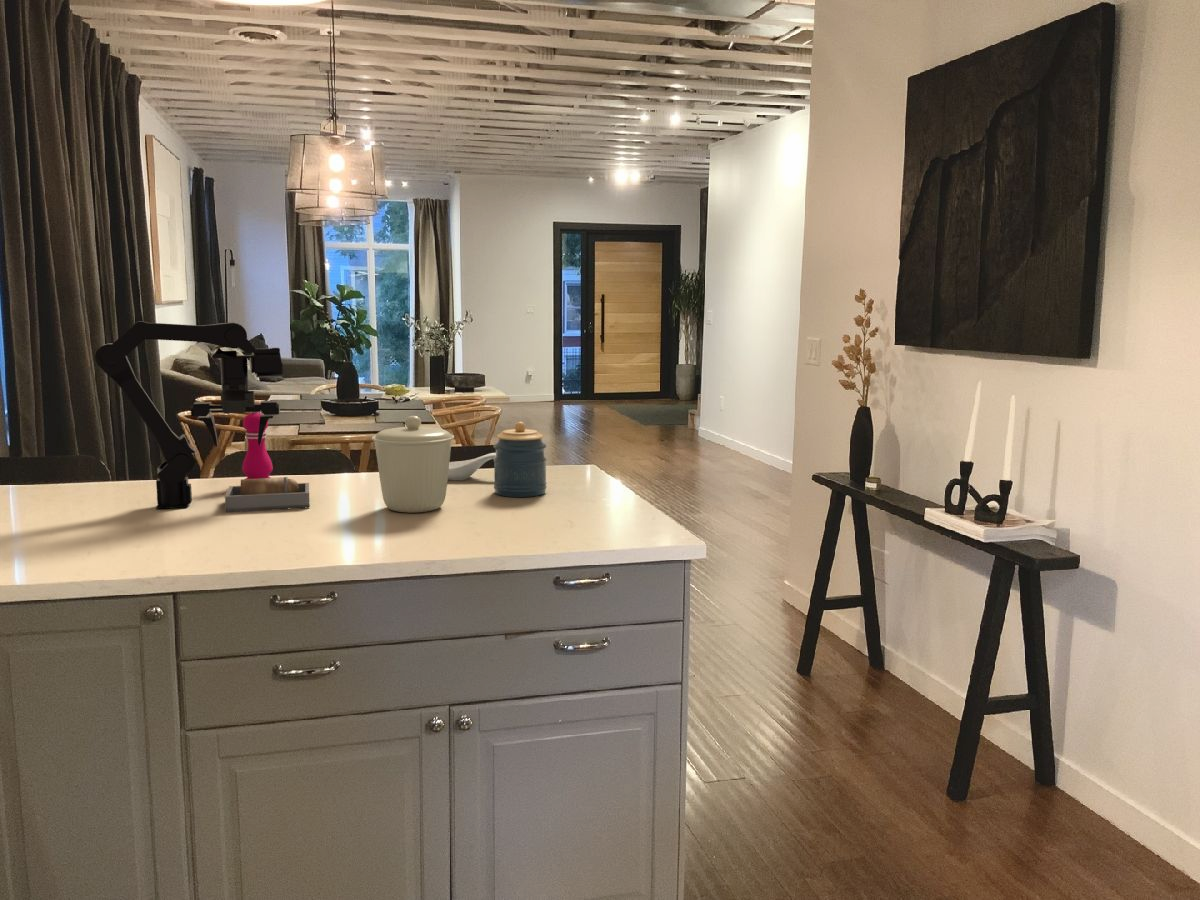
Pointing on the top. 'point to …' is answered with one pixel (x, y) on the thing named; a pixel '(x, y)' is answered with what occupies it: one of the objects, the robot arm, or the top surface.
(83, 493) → the top surface
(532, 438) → the canister
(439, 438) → the canister
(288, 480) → the shaker
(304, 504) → the dish
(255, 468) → the pepper mill
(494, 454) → the spoon rest
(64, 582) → the top surface
